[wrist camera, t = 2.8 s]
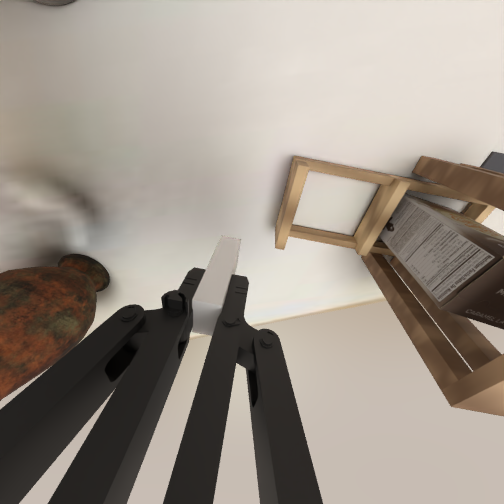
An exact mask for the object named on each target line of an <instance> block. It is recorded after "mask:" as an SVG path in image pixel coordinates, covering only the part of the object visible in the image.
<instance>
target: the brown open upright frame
mask: <svg viewBox="0 0 504 504" xmlns="http://www.w3.org/2000/svg"><path fill="white" fill-rule="evenodd" d="M412 172H413V173H415V174H417V175H420V176H422V177H424V178H427V179H429V180H432V181H434V182H436V183H439V184H441V185H444V186H446V187H448V188H451V189H453V190H456V191H458V192H460V193H463V194H465V195H467V196H470V197H472V198H475V199H477V200H479V201H482V202H484V203H487V204H489V205H491V206H494V207H496V208H499V209H501V210H503V211H504V173H500V172H496V171H492V170H488V169H484V168H480V167H476V166H471V165H466V164H460V165H459V164H455V163H451V162H448V161H444V160H440V159H436V158H431V157H426V156H421V158H420V160H419V161H418V163H417V165H416V166H415V168H414V170H413V171H412ZM361 258H362V260H363V261H364V263H365V265H366V266H367V268H368V270H369V271H370V273H371V275H372V276H373V278H374V280H375V281H376V283H377V285H378V286H379V288H380V290H381V291H382V293H383V295H384V296H385V298H386V300H387V301H388V303H389V304H390V306H391V308H392V309H393V311H394V313H395V314H396V316H397V318H398V319H399V321H400V323H401V324H402V326H403V328H404V329H405V331H406V333H407V334H408V336H409V338H410V339H411V341H412V343H413V344H414V346H415V348H416V349H417V351H418V353H419V354H420V356H421V358H422V359H423V361H424V363H425V364H426V366H427V368H428V369H429V371H430V372H431V374H432V376H433V377H434V379H435V381H436V382H437V384H438V386H439V388H440V389H441V391H442V392H443V394H444V396H445V397H446V399H447V401H448V402H449V404H450V406H451V407H455V408H461V409H466V410H472V411H477V412H483V413H488V414H494V415H499V416H504V354H501V353H500V352H499V351H498V350H497V349H496V348H495V347H494V346H493V345H492V344H491V343H490V342H489V341H488V340H487V339H486V337H485V336H484V335H483V334H482V333H481V332H480V331H479V330H478V329H477V328H476V327H475V326H474V325H473V324H472V323H471V322H470V321H469V319H468V318H466V317H463V316H460V315H457V314H453V313H450V312H447V311H444V310H441V309H439V308H438V306H437V305H436V304H435V303H434V301H433V300H432V299H431V298H430V297H429V295H428V294H427V293H426V292H425V291H424V289H423V288H422V287H421V286H420V285H419V284H418V282H417V281H416V280H415V279H414V277H413V276H412V275H411V274H410V273H409V272H408V270H407V269H406V268H405V267H404V266H403V264H402V263H401V262H400V261H399V260H398V258H397V257H393V259H392V260H391V262H390V264H391V265H392V266H393V268H394V269H395V270H396V272H397V273H398V274H399V275H400V277H401V278H402V279H403V281H404V282H405V283H406V285H407V286H408V287H409V288H410V290H411V291H412V292H413V294H414V295H415V296H416V297H417V299H418V300H419V301H420V303H421V304H422V305H423V306H424V308H425V309H426V310H427V312H428V313H429V314H430V316H431V317H432V318H433V319H434V321H435V322H436V323H437V325H438V326H439V327H440V328H441V330H442V331H443V332H444V334H445V335H446V336H447V337H448V339H449V340H450V341H451V343H452V344H453V345H454V347H455V348H456V349H457V350H458V352H459V353H460V354H461V356H462V357H463V358H464V359H465V361H466V362H467V363H468V364H469V366H470V367H471V369H472V370H473V372H472V371H471V370H470V369H469V367H468V366H467V365H466V363H465V362H464V361H463V360H462V358H461V357H460V356H459V354H458V353H457V352H456V350H455V349H454V348H453V347H452V345H451V344H450V342H449V341H448V340H447V339H446V337H445V336H444V335H443V333H442V332H441V331H440V330H439V328H438V327H437V325H436V324H435V323H434V322H433V320H432V319H431V318H430V317H429V315H428V314H427V313H426V311H425V310H424V309H423V307H422V306H421V305H420V303H419V302H418V301H417V300H416V298H415V297H414V295H413V294H412V293H411V292H410V290H409V289H408V288H407V286H406V285H405V284H404V282H403V281H402V280H401V278H400V277H399V276H398V275H397V273H396V272H395V271H394V269H393V268H392V267H391V265H390V264H389V263H388V262H387V260H386V259H385V258H384V256H383V255H382V254H378V253H373V252H368V254H367V256H363V255H362V257H361Z"/></svg>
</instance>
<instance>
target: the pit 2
mask: <svg viewBox="0 0 504 504" xmlns="http://www.w3.org/2000/svg"><path fill="white" fill-rule="evenodd" d="M480 168H484V169H488V170H492V171H496V172H500V173H504V154H502V153H497V152H492V153H491V154H490V155H489V157H488V158H487V159H486V160H485V162H484V163H483V164H482V166H481V167H480Z"/></svg>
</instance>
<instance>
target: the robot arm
mask: <svg viewBox="0 0 504 504" xmlns="http://www.w3.org/2000/svg"><path fill="white" fill-rule="evenodd" d="M34 1H37V2H39V3H43V4H47V5H63V4H67V3H70V2H72V1H74V0H34ZM240 242H241V239H237V238H231V237H226V236H221V238H220V240H219V243H218V245H217V247H216V249H215V251H214V253H213V256H212V258H211V260H210V262H209V264H208V267H207V269H206V270H205V269H200V268H195V267H194V268H193V269H192V270H190V271H189V272H188V274H187V275H186V277H185V279H184V281H183V283H182V284H181V286H180V288H179V289H178V290H173V291H169V292H167V293H165V294H164V295H163V296H162V297H161V299H162V306H163V308H161V309H156V310H145V311H144V309H143V308H142V307H141V306H140V305H128V306H125V307H123V308H121V309H119V310H118V311H117V312H116V313H114V314H113V315H112V316H111V317H110V318H108V319H107V320H106V321H105V322H104V323H102V324H101V325H100V326H99V327H98V328H97V329H95V330H94V331H93V332H92V333H91V334H89V335H88V336H87V337H86V338H85V339H83V340H82V341H81V342H80V343H79V344H78V345H76V346H75V347H74V348H73V349H72V350H70V351H69V352H68V353H67V354H66V355H64V356H63V357H62V358H61V359H60V360H59V361H57V362H56V363H55V364H54V365H53V366H51V367H50V368H49V369H48V370H47V371H46V372H44V373H43V374H42V375H41V376H40V377H38V378H37V379H36V380H35V381H34V382H32V383H31V384H30V385H29V386H28V387H27V388H25V389H24V390H23V391H22V392H21V393H19V394H18V395H17V396H16V397H15V398H13V399H12V400H11V401H10V402H9V403H8V404H6V405H5V406H4V407H3V408H2V409H1V410H0V504H19V503H20V501H21V500H22V499H23V498H24V497H25V496H26V494H27V493H28V492H29V491H30V490H31V488H32V487H33V486H34V485H35V484H36V482H37V481H38V480H39V479H40V478H41V476H42V475H43V474H44V473H45V472H46V471H47V469H48V468H49V467H50V466H51V464H52V463H53V462H54V461H55V460H56V459H57V457H58V456H59V455H60V454H61V453H62V451H63V450H64V449H65V448H66V446H68V444H69V443H70V442H71V441H72V440H73V438H74V437H75V436H76V435H77V434H78V432H79V431H80V430H81V429H82V428H83V426H84V425H85V424H86V423H87V422H88V420H89V419H90V418H91V417H92V416H93V414H94V413H95V412H96V411H97V410H98V409H99V407H100V406H101V405H102V404H103V403H104V401H105V400H106V399H107V398H108V397H109V395H110V394H111V393H112V392H113V391H114V392H113V394H112V395H111V397H110V399H109V401H108V402H107V404H106V406H105V407H104V409H103V411H102V412H101V414H100V416H99V418H98V419H97V421H96V423H95V424H94V426H93V428H92V429H91V431H90V433H89V435H88V436H87V438H86V440H85V441H84V443H83V445H82V446H81V448H80V450H79V451H78V453H77V455H76V457H75V458H74V460H73V462H72V463H71V465H70V467H69V468H68V470H67V472H66V474H65V475H64V477H63V479H62V480H61V482H60V484H59V486H58V487H57V489H56V491H55V492H54V494H53V496H52V497H51V499H50V501H49V502H48V504H127V501H128V498H129V496H130V493H131V491H132V488H133V486H134V483H135V480H136V478H137V475H138V472H139V470H140V467H141V465H142V462H143V460H144V457H145V454H146V452H147V449H148V447H149V444H150V441H151V439H152V436H153V433H154V431H155V428H156V426H157V423H158V421H159V418H160V415H161V413H162V410H163V408H164V405H165V402H166V400H167V397H168V395H169V392H170V389H171V387H172V384H173V382H174V379H175V377H176V374H177V371H178V369H179V366H180V363H181V361H182V358H183V356H184V353H185V351H186V348H187V345H188V343H189V338H190V332H191V330H192V332H195V333H200V334H205V335H211V336H212V339H211V342H210V346H209V350H208V352H207V356H206V359H205V363H204V366H203V369H202V373H201V376H200V380H199V383H198V386H197V390H196V393H195V397H194V400H193V403H192V407H191V410H190V414H189V417H188V420H187V424H186V427H185V431H184V434H183V438H182V441H181V444H180V448H179V451H178V454H177V458H176V461H175V465H174V468H173V471H172V475H171V478H170V482H169V485H168V488H167V492H166V495H165V499H164V502H163V504H213V499H214V494H215V488H216V482H217V476H218V469H219V463H220V457H221V451H222V445H223V439H224V432H225V427H226V421H227V415H228V409H229V403H230V397H231V391H232V385H233V378H234V372H235V366H236V363H238V364H239V365H241V366H243V367H245V368H246V374H247V384H248V393H249V402H250V411H251V422H252V430H253V440H254V450H255V460H256V468H257V479H258V487H259V498H260V504H323V502H322V498H321V494H320V490H319V487H318V483H317V479H316V476H315V471H314V468H313V464H312V460H311V456H310V453H309V449H308V445H307V441H306V437H305V433H304V430H303V426H302V422H301V418H300V415H299V411H298V407H297V403H296V399H295V396H294V392H293V388H292V384H291V380H290V377H289V373H288V369H287V365H286V361H285V358H284V354H283V350H282V347H281V342H280V339H279V337H278V335H277V334H276V333H275V332H274V331H272V330H269V329H261V330H259V331H258V330H256V329H254V328H253V327H251V326H250V325H248V324H247V322H246V321H245V319H244V309H245V303H246V297H247V291H248V285H249V282H248V279H247V277H244V276H239V275H235V271H236V267H237V261H238V255H239V248H240ZM115 388H116V389H115Z"/></svg>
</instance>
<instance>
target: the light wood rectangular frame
mask: <svg viewBox="0 0 504 504" xmlns="http://www.w3.org/2000/svg"><path fill="white" fill-rule="evenodd" d="M309 170H311V171H316V172H321V173H326V174H331V175H336V176H341V177H346V178H351V179H356V180H361V181H366V182H371V183H376V184H381V186H380V188H379V190H378V192H377V193H376V195H375V197H374V199H373V201H372V203H371V205H370V207H369V208H368V210H367V212H366V214H365V216H364V218H363V220H362V222H361V224H360V225H359V227H358V229H357V231H356V233H355V235H354V237H352V236H347V235H342V234H337V233H331V232H326V231H321V230H316V229H311V228H306V227H300V226H295V225H292V223H293V219H294V216H295V213H296V210H297V206H298V203H299V200H300V197H301V194H302V190H303V187H304V184H305V181H306V178H307V174H308V171H309ZM406 190H412V191H417V192H422V193H427V194H432V195H437V196H442V197H447V198H453V199H458V200H463V201H468V202H473V203H472V205H471V206H470V207H469V208H468V209H467V211H466V212H465V213H464V214H463V215H465V216H467V217H469V218H470V219H472V220H474V221H476V222H478V223H480V224H481V223H482V222H483V221H484V220H485V219H486V218H487V217H488V215H489V214H490V213H491V212H492V211H493V210H494V209H495V208H496V207H494V206H491V205H489V204H487V203H484V202H482V201H479V200H477V199H475V198H472V197H470V196H467V195H465V194H463V193H460V192H458V191H456V190H453V189H451V188H448V187H446V186H444V185H440V184H435V183H430V182H425V181H420V180H415V179H410V178H405V177H400V176H394V175H389V174H384V173H379V172H374V171H369V170H364V169H359V168H354V167H349V166H344V165H339V164H334V163H329V162H324V161H319V160H314V159H309V158H304V157H299V156H294V158H293V161H292V165H291V169H290V173H289V177H288V181H287V184H286V188H285V192H284V196H283V200H282V204H281V208H280V211H279V215H278V219H277V223H276V227H275V248H277V249H282V250H284V248H285V245H286V242H287V239H288V236H290V237H295V238H300V239H306V240H311V241H316V242H321V243H326V244H332V245H337V246H342V247H347V248H352V249H355V250H356V252H357V254H358V255H363V256H367V254H368V252H373V253H378V254H384V255H389V256H394V257H396V256H395V255H394V253H393V252H392V251H391V250H390V249H389V248H388V246H387V245H386V244H385V243H383V242H378V241H376V239H377V238H378V236H379V234H380V233H381V231H382V229H383V228H384V226H385V225H386V223H387V221H388V220H389V218H390V216H391V215H392V213H393V212H394V210H395V208H396V207H397V205H398V203H399V202H400V200H401V198H402V197H403V195H404V194H405V192H406Z"/></svg>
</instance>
